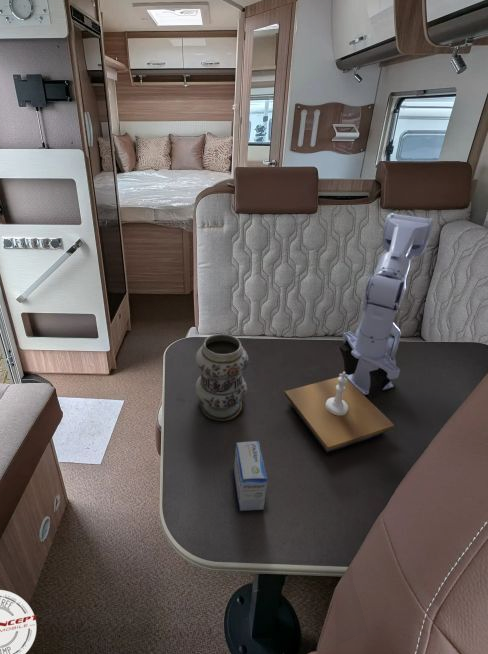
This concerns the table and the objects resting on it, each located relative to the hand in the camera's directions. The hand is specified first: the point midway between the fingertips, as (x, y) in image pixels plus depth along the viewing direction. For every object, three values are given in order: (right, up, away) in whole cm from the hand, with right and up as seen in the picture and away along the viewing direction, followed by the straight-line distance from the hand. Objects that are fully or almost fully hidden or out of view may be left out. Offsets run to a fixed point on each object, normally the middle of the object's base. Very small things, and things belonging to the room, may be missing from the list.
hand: (361, 384), depth 79 cm
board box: (-4, -9, +4) cm, 11 cm away
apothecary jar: (-31, -7, +8) cm, 32 cm away
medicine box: (-26, -17, -11) cm, 33 cm away
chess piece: (-4, -6, +3) cm, 8 cm away
